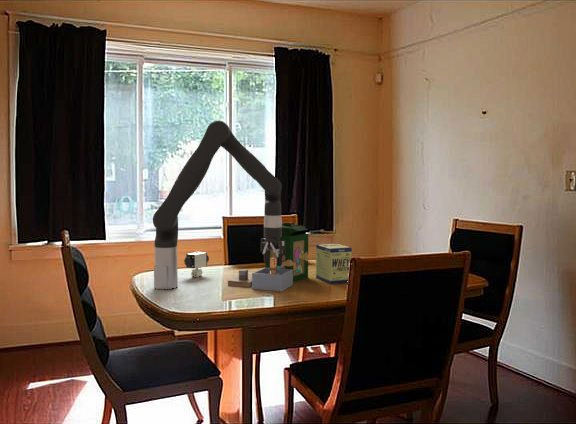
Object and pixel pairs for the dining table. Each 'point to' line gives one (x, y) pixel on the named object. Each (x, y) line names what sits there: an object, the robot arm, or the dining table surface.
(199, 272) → the pneumatic valve
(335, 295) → the dining table surface
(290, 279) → the bin
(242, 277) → the stud block
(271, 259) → the peg block
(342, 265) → the protein box
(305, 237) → the container
